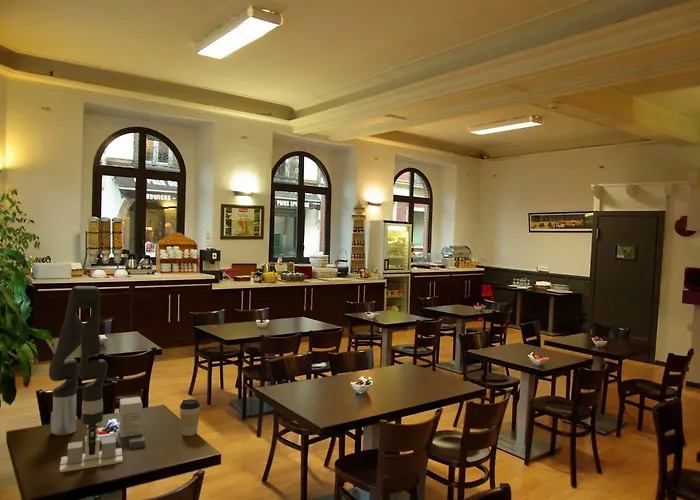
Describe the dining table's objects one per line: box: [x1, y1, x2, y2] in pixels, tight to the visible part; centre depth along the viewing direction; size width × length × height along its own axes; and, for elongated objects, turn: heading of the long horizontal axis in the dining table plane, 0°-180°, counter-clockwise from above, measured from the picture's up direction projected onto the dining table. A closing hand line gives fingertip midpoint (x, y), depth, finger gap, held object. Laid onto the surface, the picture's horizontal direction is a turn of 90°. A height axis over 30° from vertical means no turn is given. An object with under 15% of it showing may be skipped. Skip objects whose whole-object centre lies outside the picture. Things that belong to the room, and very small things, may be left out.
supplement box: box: [119, 396, 143, 438], centre depth 232 cm, size 9×9×15 cm
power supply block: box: [128, 436, 146, 449], centre depth 219 cm, size 6×4×3 cm, turn 111°
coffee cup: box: [179, 398, 201, 437], centre depth 234 cm, size 9×9×15 cm
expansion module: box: [84, 434, 100, 459], centre depth 203 cm, size 5×6×7 cm
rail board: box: [59, 436, 124, 473], centre depth 203 cm, size 22×12×7 cm, turn 116°
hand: (92, 451), depth 203 cm, fingers closed on expansion module, 6 cm apart
